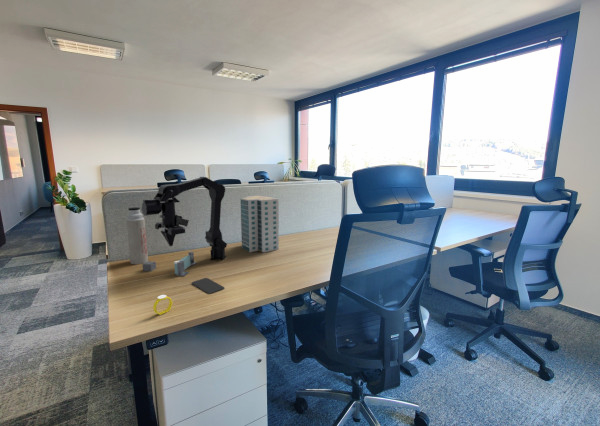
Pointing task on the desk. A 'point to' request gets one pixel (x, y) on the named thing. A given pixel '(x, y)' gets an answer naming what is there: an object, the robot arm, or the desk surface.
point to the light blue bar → (186, 263)
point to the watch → (162, 297)
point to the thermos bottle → (136, 236)
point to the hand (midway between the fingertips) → (171, 245)
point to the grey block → (181, 269)
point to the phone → (207, 285)
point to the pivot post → (191, 258)
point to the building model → (259, 223)
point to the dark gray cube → (149, 266)
